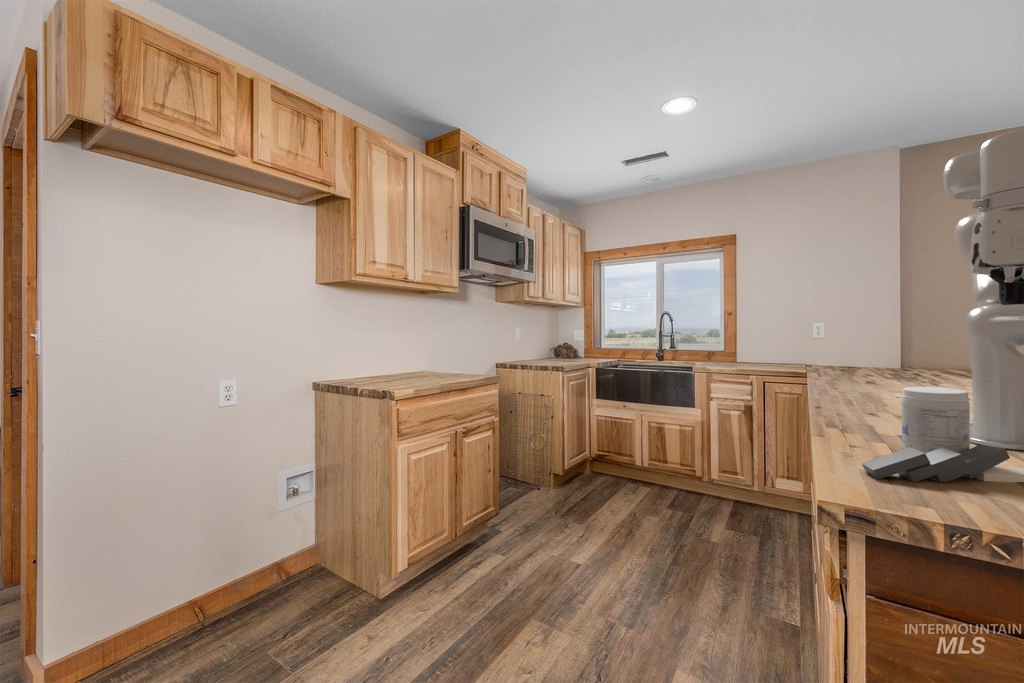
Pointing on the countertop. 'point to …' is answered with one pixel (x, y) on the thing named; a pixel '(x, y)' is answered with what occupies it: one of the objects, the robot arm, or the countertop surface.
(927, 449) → the supplement tub
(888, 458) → the domino
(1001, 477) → the domino
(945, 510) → the countertop surface
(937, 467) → the domino
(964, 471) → the domino
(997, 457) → the domino
